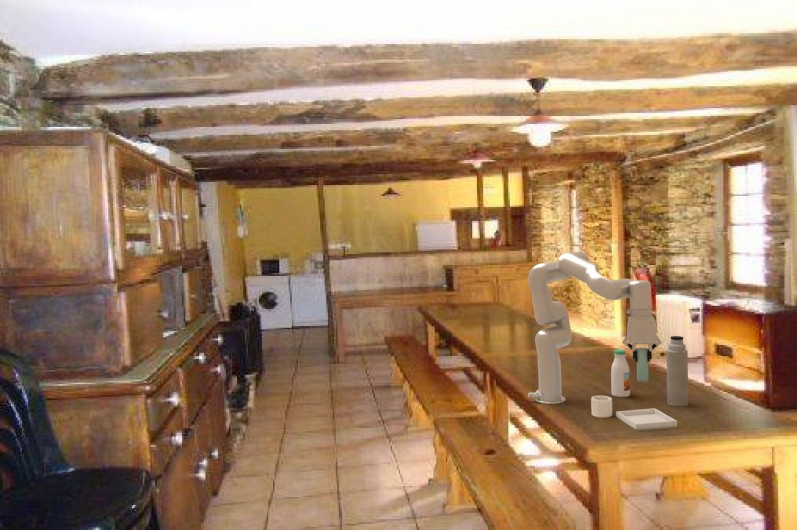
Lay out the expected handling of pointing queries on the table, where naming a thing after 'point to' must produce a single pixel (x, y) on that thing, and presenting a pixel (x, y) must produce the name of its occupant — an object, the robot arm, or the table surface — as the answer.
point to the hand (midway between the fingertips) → (642, 360)
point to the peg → (642, 364)
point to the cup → (601, 406)
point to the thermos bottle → (677, 372)
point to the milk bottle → (620, 375)
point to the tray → (647, 419)
